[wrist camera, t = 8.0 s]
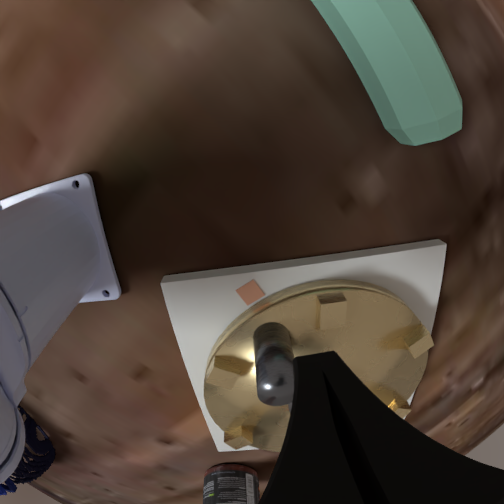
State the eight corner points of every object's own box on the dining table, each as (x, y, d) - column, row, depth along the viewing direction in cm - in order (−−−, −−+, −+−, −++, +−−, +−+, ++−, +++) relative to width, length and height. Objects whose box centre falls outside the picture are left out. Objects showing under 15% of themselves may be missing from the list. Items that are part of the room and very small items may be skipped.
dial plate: (218, 443, 25) (218, 452, 24) (163, 275, 18) (159, 284, 17) (401, 411, 25) (405, 419, 24) (438, 239, 18) (447, 244, 17)
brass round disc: (370, 434, 24) (387, 481, 19) (199, 433, 22) (194, 490, 17) (451, 291, 18) (498, 336, 13) (218, 262, 17) (209, 324, 11)
